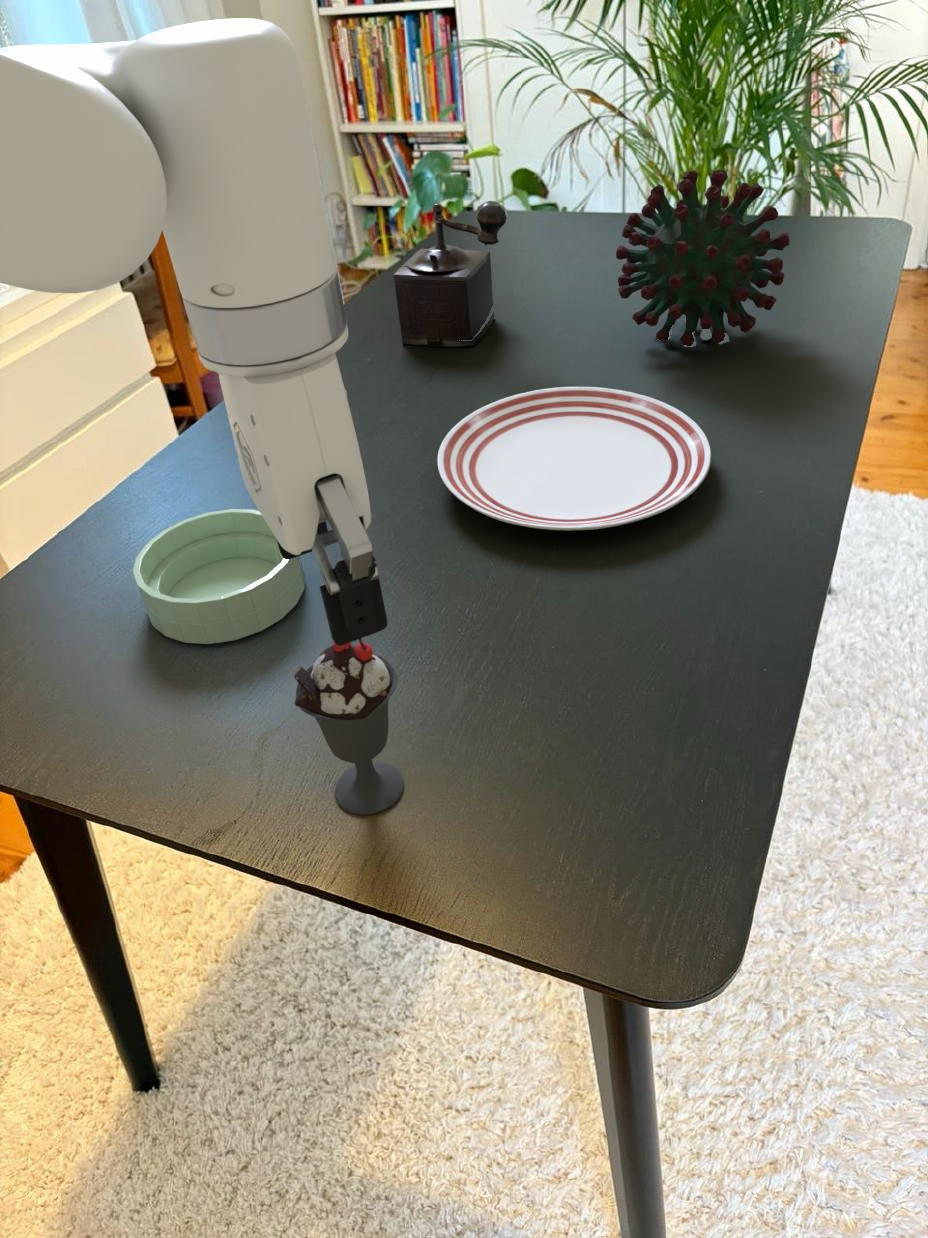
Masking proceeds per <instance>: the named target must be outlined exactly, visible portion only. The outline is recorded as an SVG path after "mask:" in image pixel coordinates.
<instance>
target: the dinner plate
mask: <svg viewBox="0 0 928 1238" xmlns="http://www.w3.org/2000/svg"><path fill="white" fill-rule="evenodd" d="M711 462H712V450H711V445H710V442H709V440H708V438H707V436H706V434H705V432H704V431H703V430H702V428H701V427H700V426H699V425H698V424H697V423H696V422H695V421H694V420H693V419H692V418H690V416H688V415H687V414H685V413H684V412H683V411H681V410H679V409H678V408H676V407H674V406H672V405H671V404H668V403H666V402H664V401H661V400H658V399H656V398H653V397H651V396H647V395H643V394H639V393H636V392H632V391H628V390H621V389H616V388H607V387H597V386H559V387H558V386H557V387H549V388H542V389H541V388H540V389H535V390H531V391H526V392H522V393H517V394H514V395H511V396H507V397H504V398H501V399H497V400H496V401H494V402H491V403H489V404H487V405H484V406H482V407H480V408H478V409H476V410H474V411H473V412H471V413H469V414H468V415H467V416H465V417H464V418H462V419H461V420H460V421H458V422H457V423H456V424H455V425H454V426H453V427H452V428H451V429H450V430H449V431H448V432H447V434H446V435H445V437H444V438H443V440H442V442H441V444H440V446H439V449H438V453H437V469H438V472H439V476H440V477H441V480H442V482H443V484H444V485H445V487H446V488H447V489H448V491H449V492H450V493H452V495H454V496H455V497H456V499H458V500H459V501H460V502H462V503H464V504H465V505H467V506H468V507H469V508H471V509H473V510H474V511H477V512H479V513H481V514H482V515H483V516H484V515H485V516H487V517H489V518H491V519H495V520H497V521H500V522H504V523H507V524H510V525H511V524H512V525H516V526H520V527H526V528H532V529H540V530H548V531H589V530H599V529H607V528H613V527H618V526H624V525H627V524H633V523H635V522H639V521H643V520H645V519H648V518H652V517H653V516H656V515H658V514H661V513H663V512H665V511H667V510H669V509H671V508H674V507H675V506H676V505H678V504H680V503H682V502H684V500H686V499H687V498H688V497H689V496H691V495H693V493H695V491H696V490H697V489H698V488H699V487H700V486H701V484H702V483H703V482H704V481H705V479H706V477H707V475H708V473H709V471H710V469H711V468H710V467H711Z"/></svg>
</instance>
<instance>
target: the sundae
mask: <svg viewBox="0 0 928 1238" xmlns="http://www.w3.org/2000/svg"><path fill="white" fill-rule="evenodd" d="M362 639H363V638H361V639H358V642H359V643H358V644H357V645H355V646H353V645H352V642H350V643H347V644H345V645H342V646H338V645H336V644H335V642H334V641H333V643H332V645H331V646H329V647H327V648H325V649H324V650H322V651H320V654H319V655H318V656H317V658H316V659H315V660H314V661H313V664H312V665H311V666H309V667H307V669H305V668H303V667H302V666H301V665H299V666H298V667H297V668H296V670H295V671H294V672H295V674H294V676H293V678H294V680H295V681H296V682H297V684H296V689H295V699H294V705H295V707H298V708H299V709H300V711H301V712H303V713H305V714H307V715H309V716H311V717H313V718H314V719H315V720H316V722H317V724H318V725H319V729H320V731H321V733H322V736H323V738H324V740H325V742H326V744H327V746H328V748H329V749H330V751H331V753H332V754H333V755H334V756H335V757H336V758H337V759H339V760H340V761H343V762H347V763H351V764H354V765H353V766H351V767H349V768H348V769H347V770H346V771H345V772H344V773H342V774H341V776H340V777H339V778H338V780H337V782H336V785H335V788H334V796H335V800H336V802H337V804H338V805H339V806H340V807H341V808H342V809H344V810H345V811H347V812H349V813H352V814H355V815H365V816H366V815H374V814H377V813H378V814H379V813H381V812H383V811H385V810H388V809H389V808H390V807H392V806H393V805H394V804H395V803H396V802H397V801H398V800H399V798H400V797H401V795H402V793H403V791H404V778H403V776H402V774H401V772H400V771H399V770H398V769H397V768H396V767H394V766H393V765H391V764H389V763H385V762H382V761H374V759H375V758H376V757H378V755H380V754H381V752H383V751H384V749H385V747H386V746H387V742H388V736H389V725H390V724H389V723H390V722H389V700H390V698H391V697H392V696H393V694H394V693H395V691H396V689H397V686H398V682H399V678H398V674H397V671H396V670H395V669H394V667H393V665H392V664H391V663H389V662H388V660H386V659H385V658H383V657H382V656H381V655H379V654H376V653H374V651H373V647H372V646H371V645H370V644H368V643H365V642H363V640H362Z"/></svg>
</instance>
